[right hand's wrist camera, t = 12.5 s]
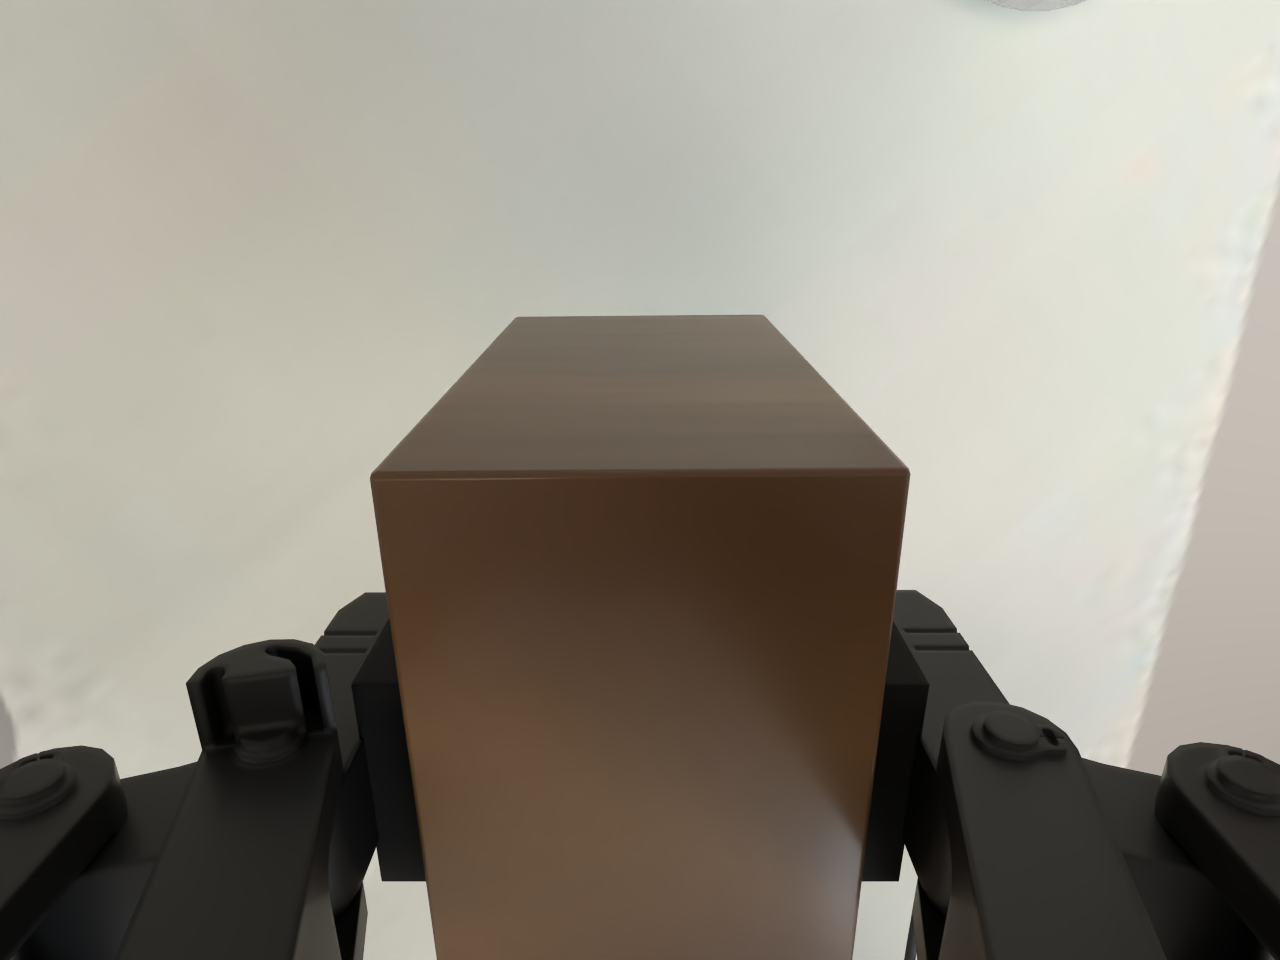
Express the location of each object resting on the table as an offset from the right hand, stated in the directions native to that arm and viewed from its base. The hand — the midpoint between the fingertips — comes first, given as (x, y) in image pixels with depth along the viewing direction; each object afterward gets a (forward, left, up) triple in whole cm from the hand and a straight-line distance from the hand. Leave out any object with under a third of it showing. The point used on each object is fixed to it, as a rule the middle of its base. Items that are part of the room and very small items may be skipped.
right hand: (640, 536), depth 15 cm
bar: (+9, +4, -1) cm, 10 cm away
